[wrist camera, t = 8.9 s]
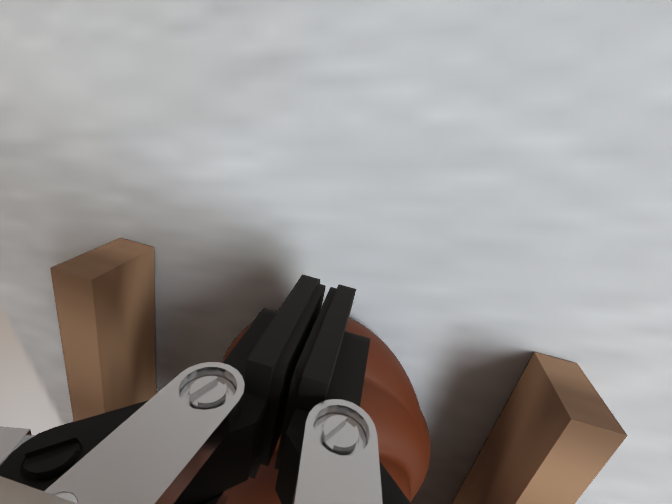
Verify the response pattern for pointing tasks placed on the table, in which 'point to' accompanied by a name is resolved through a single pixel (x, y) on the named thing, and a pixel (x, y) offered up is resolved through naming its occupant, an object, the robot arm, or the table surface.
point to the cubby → (488, 469)
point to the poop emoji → (386, 413)
